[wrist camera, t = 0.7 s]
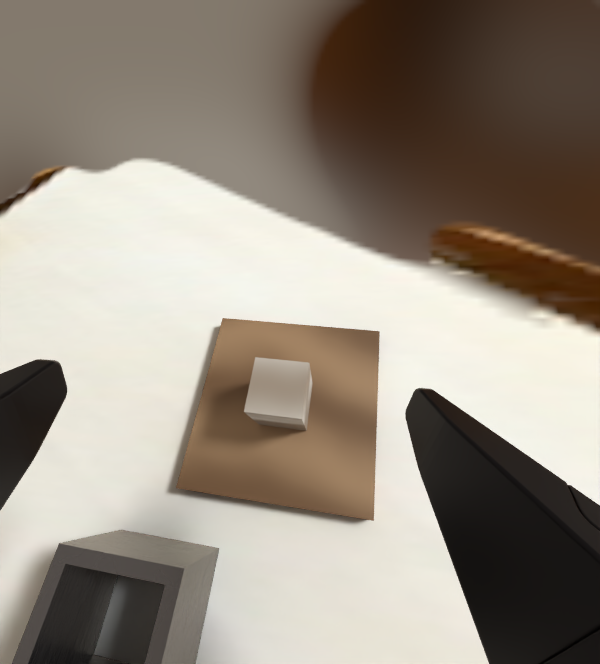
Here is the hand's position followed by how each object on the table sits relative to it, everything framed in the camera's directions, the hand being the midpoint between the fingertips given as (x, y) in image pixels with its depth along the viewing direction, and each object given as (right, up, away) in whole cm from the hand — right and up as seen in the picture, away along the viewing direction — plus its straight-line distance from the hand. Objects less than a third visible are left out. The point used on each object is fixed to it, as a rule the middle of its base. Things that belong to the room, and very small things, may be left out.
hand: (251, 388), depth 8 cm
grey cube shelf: (-7, -14, +10) cm, 18 cm away
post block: (0, -4, +14) cm, 14 cm away
